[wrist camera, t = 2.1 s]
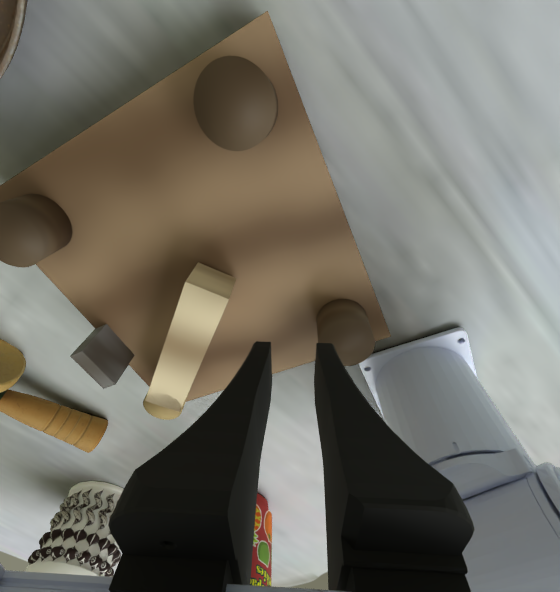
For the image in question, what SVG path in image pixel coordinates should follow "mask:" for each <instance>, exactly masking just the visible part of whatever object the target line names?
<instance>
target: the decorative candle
mask: <svg viewBox="0 0 560 592" xmlns="http://www.w3.org/2000/svg"><path fill="white" fill-rule="evenodd" d="M123 490H124V489H123V488H121V487H119V486H116V485H113V484H109V483H106V482H97V481H87V482H80V483H78V484H76V485H74V486H73V487H72V488H71V489H70V492H69V495H68V497H67V498H65V499H64V503H62V504H61V505H60V510H61V511H60V512H58V513H56V514H55V516H54V518H53V519H52V520H51V522H50V524H51V528H50V530H51V532H47V533H45V534H44V535H43V537H42V538H41V539H40V541H39V544H40V549H38V550H35V551H34V552H33V553H32V555H31V556H30V557H29V559H28V563H29V566H27V568H26V570H25V572H40V573H57V574H73V575H89V576H105V577H113V576H114V575H113V574H114V570H113V569H112V568H111V567H114V566H115V565H116V563H118V562H119V561H120V556H121V553H120V551H119V549H120V548H119V546H118V545H117V543H116V541H115V539H114V538H113V536H112V534H111V532H110V529H109V526H108V524H109V520H110V517H111V515H112V513H113V511H114V509H115V507H116V504H117V502H118V500H119V498H120V496H121V493H122V491H123Z"/></svg>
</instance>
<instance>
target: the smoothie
mask: <svg viewBox="0 0 560 592" xmlns="http://www.w3.org/2000/svg"><path fill="white" fill-rule="evenodd" d="M271 560H272V514H271V512H270V511H269V509H268V502H267V500H266V499H265V498H264V497H263V496H261V495H260V494H258V493H257V502H256V514H255V527H254V540H253V553H252V567H251V582H250V585H252V586H268V587H271Z"/></svg>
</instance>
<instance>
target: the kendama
mask: <svg viewBox="0 0 560 592" xmlns="http://www.w3.org/2000/svg"><path fill="white" fill-rule="evenodd" d="M25 367H26V361H25V358H24V356H23V354H22V353H21V351H20V350H18V349H17V348H16V347H14V346H12V345H10V344H9V343H7V342H6V341H4V340H2V339H0V411H1V412H3V413H5V414H7V415H8V416H10V417H12V418H14V419H16V420H18V421H20V422H22V423H24V424H26V425H28V426H30V427H33V428H35V429H37V430H40V431H43V432H44V433H46V434H49V435H51V436H54V437H56V438H58V439H60V440H63V441H65V442H67V443H69V444H71V445H72V444H73V445H74V446H75V447H77V448H79V449H81V450H83V451H85V452H88V453H89V452H91V451H92V450H93V449H94V448H95V447H96V446H97V445H98V443H99V442H100V440H101V438H102V437H103V435H104V433H105V431H106V428H107V426H108V420H105V419H102V418H99V417H96V416H90V415H89V414H86V413H83V412H80V411H77V410H74V409H70V408H68V407H66V406H63V405H61V406H60V405H59V404H57V403H54V402H51V401H48V400H45V399H42V398H38V397H35V396H32V395H28V394H24V393H20V392H16V391H12V390H8V389H9V388H10V387H12V386H13V385H14V384H15V383H16V382H17V381H18V379H19V378H20V377H21V375H22V374H23V372H24V370H25Z"/></svg>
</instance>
